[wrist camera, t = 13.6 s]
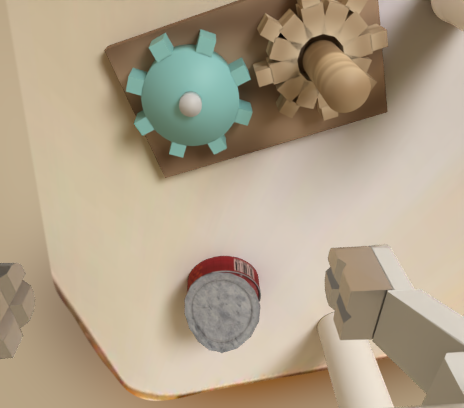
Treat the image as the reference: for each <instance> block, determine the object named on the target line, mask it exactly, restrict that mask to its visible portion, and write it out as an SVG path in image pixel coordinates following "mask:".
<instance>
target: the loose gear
mask: <svg viewBox="0 0 464 408" xmlns="http://www.w3.org/2000/svg"><path fill="white" fill-rule="evenodd" d="M367 1H368V0H337V1H336V0H321V1H320V0H297V4H295V5H296V10H297V15H298V17H297V16H296V15H295V14H294V12H293V11H292V10H291V9H290V8H289V9H288V10H287V12H286V13H285V14H284V15H283V16H282V17H281V18H280V19H279V20H276V19H274V18H273V17H271V16H269V15H268V14H266V13H265V14H264V16H263V18H262V20H261V22H260V24H259V25H258V27H257V30H258V32H259V34H260V35H261V36H263V37H265V38H266V39H268V40H269V41H268V45H267V49H266V52H267V55H268V57H266V60H263V61H260V62H257V63H254V64H253V67H254V71H255V74H256V78H257V81H258V84H259V87H262V86H265V85H268V84H271V83H274V85H275V86H276V89H277V90H278V91H279V92H280V93H281V94H280V96H279V97H278V99H277V101H276V105H277V107H278V110H279V112H280V113H282V114H284V115H286V116H288V117H290V118H293V116H294V115H295V113H296V111H297V110H298V108H299V107H300V106H301V107H306V108H311V109H314V106H315V103H316V104H317V109H318V112H319V113H320V115H321V117H322V118H323V120H328V119H331V118H334V117H338V112H339V113H348V112H352V111H354V110H356V109H358V108H359V107H360V106H362V105H363V104H364V102H365V101H366V100H367V98H368V96H369V93H370V91H371V90H372V88H373V87H374V86H375V84H376V83H377V81H376V80H374V79H373V78H372V77H371V76H370V75H369V74H368V73H367V71H368V68H369V66H370V63H371V61H372V60H371V59H370V58H369V57H367V56H366V55H369V54H372V53H373V51H375V50H378V49H381V48H384V47H388V41H387V30H386V29H385V28H383V27H381V26H380V25H378V24H373V25H370V26H368V25H367V24H366V23H365V21H364V20H363V19H362V18H361V17H360V15H359V13H360V12H361V10H362V9H363V7H364V6H365V4H366V3H367ZM322 34H326V35H330V36H333V37H334V38H335V40H336V45H335V44H334V43H332V42H331V41H328V40H319V41H316V42H314V43H312V44H311V45H310V46H309V47H308V48H307V49H306V51H305V53H304V55H303V68H304V70H305V71H306V73H304V72H301V71H300V69H299V67H298V62H297V60H298V56H299V53H300V50H301V48H302V47H303V46H304V44H305V43H306V42H307V41H308V40H309V39H310V38H312V37H316V36H319V35H322Z"/></svg>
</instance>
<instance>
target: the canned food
mask: <svg viewBox="0 0 464 408" xmlns="http://www.w3.org/2000/svg"><path fill="white" fill-rule="evenodd" d="M260 298H261V293H260V287H259V279H258V274H257V272H256V270H255V269H254V267H253V266H252V265H251V264H249V263H248V262H246V261H244V260H243V259H240V258H237V257H231V256H218V257H213V258H209V259H206V260H204V261H202V262H200V263H199V264H198V265H196V266H195V267H194V268H193V269H192V271H191V273H190V274H189V278H188V287H187V295H186V298H185V316H186V319H187V322H188V325H189V329H190V330H191V331H192V333H193V334H194V335H195V337H196V339H197V340H198V342H200V343H201V344H202V345H203V346H205V347H206V348H207V349H209V350H211V351H217V352H221V353H223V352H227V351H230V350H233V349H236V348H238V347H239V346H240V345H242V344H243V343H244V342H245V341H246V340H247V339H249V338H250V337H251V335H252V334H253V332H254V330H255V328H256V326H257V324H258V322H259V314H260V303H259V302H260Z"/></svg>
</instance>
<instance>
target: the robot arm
mask: <svg viewBox="0 0 464 408" xmlns="http://www.w3.org/2000/svg"><path fill="white" fill-rule="evenodd" d="M328 261H329V264H330V268H329V269H328V270H327V271H326V274H325V292H326V298H327V301H328V304H329V306H330V307H331V308H333V309H334V310H335V312H334V317H333V320H334V323H335V326H336V329H337V332H338V335H339V339H340V340H366V339H373V342H374V343H375V344H376V345H377V346H378V347H379V348H380V349H381V350H382V351H383V352H384V353H385V354H386V355H387V356H388V357H389V358H391V360H392V361H393V362H394V363H396V364H397V365H398V366H399V367H400V368H401V369H402V370H403V371H404V372H405V373H406V374H407V375H408V376H409V377H410V378H411V379H412V380H413V381H414V382H415V383H416V384H417V385H418V386H419V387H420V388H421V389H422V390H423V391H424V392H425V393H426V396H425V398H424V400H423V403H422V405H421V406H408V407H391V408H464V317H463V316H462V315H460V314H459V313H457V312H456V311H454V310H452V309H451V308H449V307H448V306H446V305H445V304H443V303H442V302H440V301H438V300H437V299H435V298H434V297H432V296H431V295H429V294H428V293H426V292H424V291H423V290H421V289H414V287H413V285H412V283H411V282H410V280H409V278H408V276H407V275H406V273H405V271H404V270H403V268H402V266H401V264H400V263H399V261H398V259H397V257H396V256H395V254H394V252H393V251H392V249H391V247H390V246H388V245H372V246H359V247H340V248H331V249H330V251H329V255H328ZM24 276H25V271H24V269H23V267H22V265H21V264H18V263H0V359H5V358H13V357H14V354H15V352H16V350H17V348H18V345H19V343H20V341H21V339H22V337H23V334H22V331H21V329H20V328H21V327H23V326H24V325H25V324H26V323H28V322H29V321H30V319H31V316H32V314H33V312H34V305H35V297H34V291H33V289H32V287H31V285H29V284H28V283H27V282H25V281H24V280H23V278H24Z"/></svg>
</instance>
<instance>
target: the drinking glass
mask: <svg viewBox="0 0 464 408" xmlns="http://www.w3.org/2000/svg"><path fill="white" fill-rule="evenodd" d="M431 6H432V9H433V11H434V13H435V14H436V16H437V17H438V18H440V19H441V20H443V21H445V22H447V23H449V24H452V25H453V26H455V27H456V28H458V29H460V30H461V31H463V32H464V0H431Z"/></svg>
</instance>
